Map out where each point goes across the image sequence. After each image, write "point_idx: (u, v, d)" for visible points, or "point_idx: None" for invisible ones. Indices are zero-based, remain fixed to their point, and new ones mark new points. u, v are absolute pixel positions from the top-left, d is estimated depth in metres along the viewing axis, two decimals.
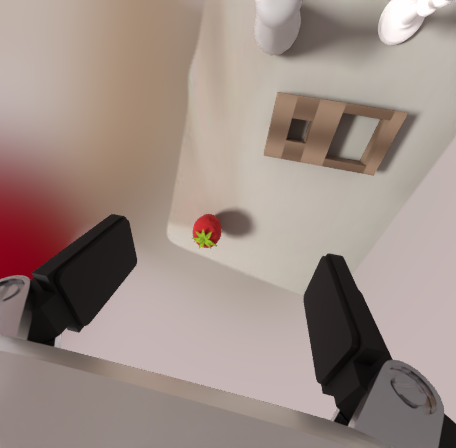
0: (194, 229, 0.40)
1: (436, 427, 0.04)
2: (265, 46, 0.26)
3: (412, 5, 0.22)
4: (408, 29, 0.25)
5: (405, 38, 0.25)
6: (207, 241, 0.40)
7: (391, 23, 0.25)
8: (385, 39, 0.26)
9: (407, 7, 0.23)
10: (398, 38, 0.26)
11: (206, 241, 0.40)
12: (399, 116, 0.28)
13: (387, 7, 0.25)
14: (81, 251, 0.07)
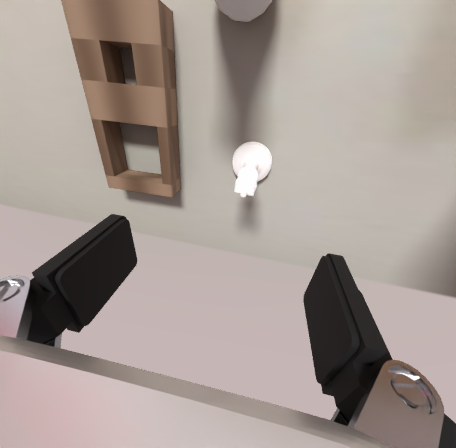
0: None
1: (436, 427, 0.04)
2: None
3: (253, 165, 0.22)
4: None
5: (235, 172, 0.25)
6: None
7: (246, 153, 0.24)
8: (235, 153, 0.24)
9: (254, 162, 0.23)
10: (235, 165, 0.25)
11: None
12: (167, 190, 0.26)
13: (260, 144, 0.23)
14: (81, 251, 0.07)
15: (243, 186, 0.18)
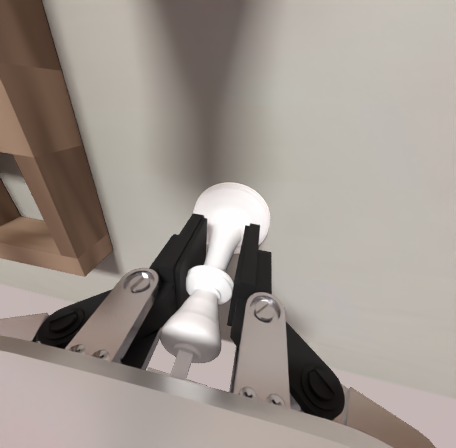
0: None
1: (283, 324, 0.06)
2: None
3: (228, 242, 0.10)
4: (210, 237, 0.13)
5: None
6: None
7: (217, 207, 0.11)
8: (196, 204, 0.12)
9: (232, 231, 0.11)
10: None
11: None
12: (73, 266, 0.14)
13: (245, 190, 0.11)
14: (186, 246, 0.08)
15: (173, 370, 0.06)
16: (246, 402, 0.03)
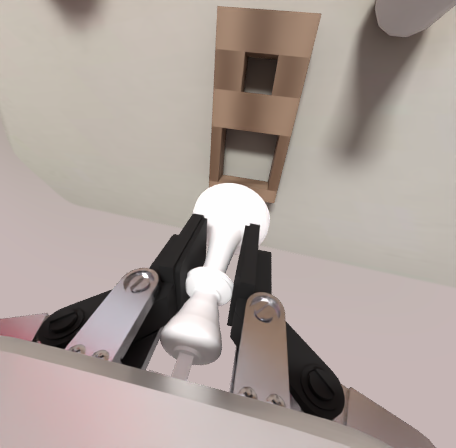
0: None
1: (284, 324, 0.06)
2: None
3: (228, 243, 0.10)
4: (209, 238, 0.13)
5: None
6: None
7: (217, 208, 0.11)
8: (196, 205, 0.12)
9: (231, 232, 0.11)
10: None
11: None
12: (270, 196, 0.26)
13: (245, 191, 0.11)
14: (186, 247, 0.08)
15: (174, 372, 0.06)
16: (246, 402, 0.03)
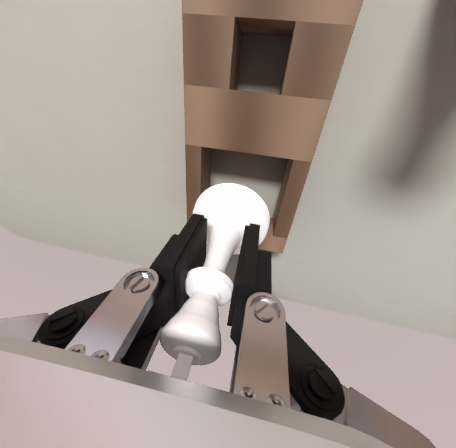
0: None
1: (283, 324, 0.06)
2: None
3: (227, 243, 0.10)
4: (209, 238, 0.13)
5: None
6: None
7: (216, 208, 0.11)
8: (196, 205, 0.12)
9: (231, 232, 0.11)
10: None
11: None
12: (277, 244, 0.18)
13: (245, 191, 0.11)
14: (186, 246, 0.08)
15: (173, 372, 0.06)
16: (246, 402, 0.03)
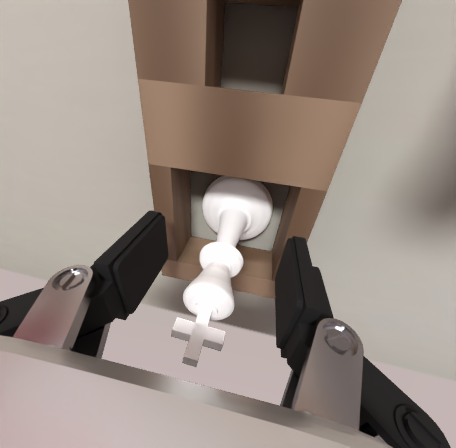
0: None
1: (360, 364, 0.05)
2: None
3: (236, 225, 0.11)
4: (218, 224, 0.14)
5: (208, 223, 0.14)
6: None
7: (225, 196, 0.13)
8: (206, 193, 0.13)
9: (239, 216, 0.12)
10: (207, 213, 0.14)
11: None
12: None
13: (251, 181, 0.12)
14: (131, 244, 0.08)
15: (197, 319, 0.07)
16: (246, 402, 0.03)
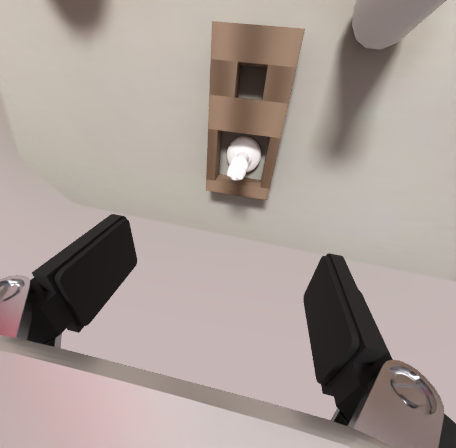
0: None
1: (436, 427, 0.04)
2: None
3: (244, 156, 0.26)
4: None
5: (229, 163, 0.29)
6: None
7: (238, 146, 0.27)
8: (229, 146, 0.28)
9: (245, 154, 0.27)
10: (229, 157, 0.29)
11: None
12: (263, 193, 0.28)
13: (250, 139, 0.27)
14: (81, 251, 0.07)
15: (234, 171, 0.21)
16: (246, 402, 0.03)
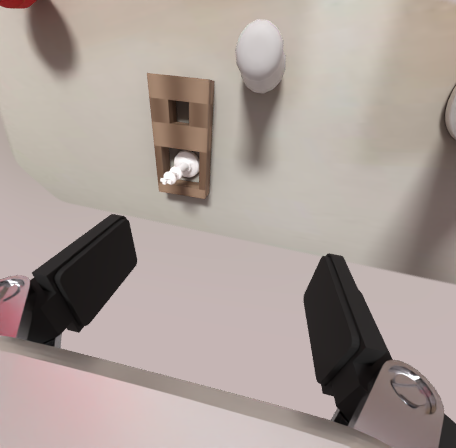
0: None
1: (436, 427, 0.04)
2: None
3: (182, 166, 0.34)
4: None
5: None
6: None
7: (181, 158, 0.36)
8: (175, 157, 0.36)
9: (184, 164, 0.35)
10: (175, 165, 0.37)
11: None
12: (202, 194, 0.37)
13: (190, 152, 0.35)
14: (81, 251, 0.07)
15: (166, 178, 0.30)
16: (246, 402, 0.03)
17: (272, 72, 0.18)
